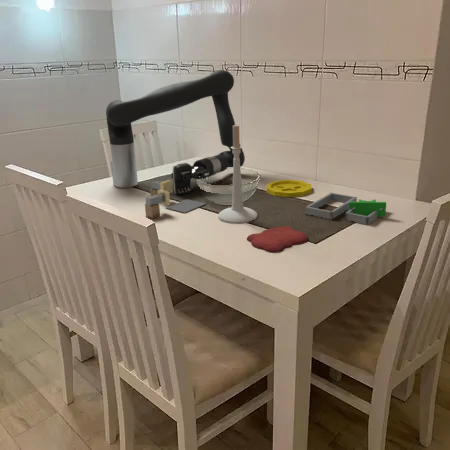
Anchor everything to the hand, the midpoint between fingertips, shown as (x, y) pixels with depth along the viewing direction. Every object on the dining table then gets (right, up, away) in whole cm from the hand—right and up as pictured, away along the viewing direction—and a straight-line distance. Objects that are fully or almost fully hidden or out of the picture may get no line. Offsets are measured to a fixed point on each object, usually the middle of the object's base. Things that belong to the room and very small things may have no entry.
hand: (177, 177), depth 177 cm
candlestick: (+22, -15, -21) cm, 34 cm away
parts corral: (+58, -14, -20) cm, 63 cm away
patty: (+33, -23, -39) cm, 56 cm away
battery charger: (+2, -6, +5) cm, 8 cm away
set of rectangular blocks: (-6, -12, -11) cm, 17 cm away
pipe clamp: (+63, -15, -24) cm, 69 cm away
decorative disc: (+42, -5, +5) cm, 42 cm away
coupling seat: (+4, -11, -10) cm, 16 cm away
